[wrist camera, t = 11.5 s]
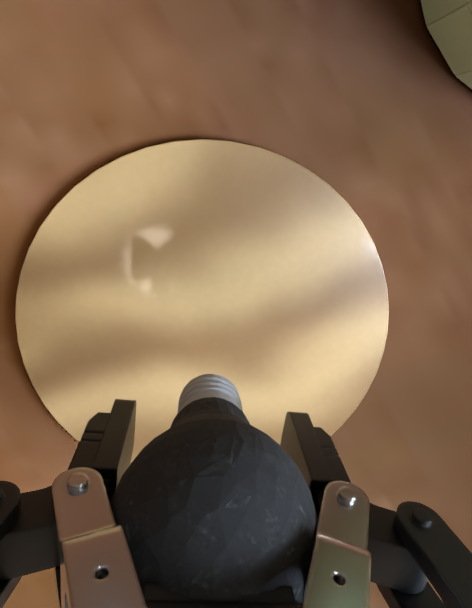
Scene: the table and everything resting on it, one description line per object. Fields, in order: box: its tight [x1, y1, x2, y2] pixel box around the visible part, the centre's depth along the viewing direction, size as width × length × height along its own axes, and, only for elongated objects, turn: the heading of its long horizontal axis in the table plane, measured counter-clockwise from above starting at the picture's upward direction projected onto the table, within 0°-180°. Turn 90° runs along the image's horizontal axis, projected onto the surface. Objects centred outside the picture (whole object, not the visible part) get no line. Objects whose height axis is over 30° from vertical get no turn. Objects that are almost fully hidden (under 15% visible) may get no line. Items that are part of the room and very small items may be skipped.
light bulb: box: [110, 374, 318, 602], centre depth 13 cm, size 6×6×10 cm
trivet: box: [15, 139, 389, 464], centre depth 23 cm, size 20×20×1 cm
